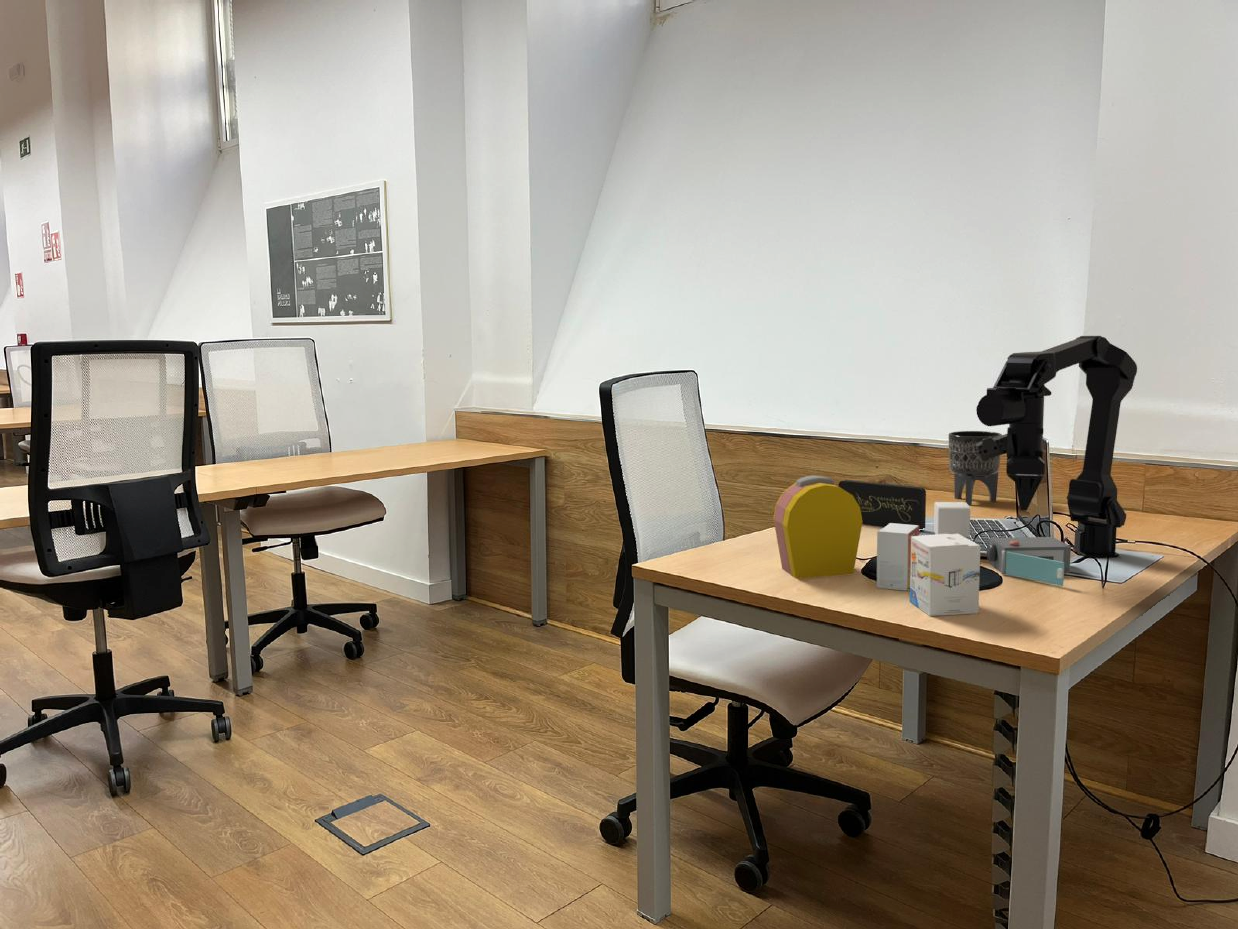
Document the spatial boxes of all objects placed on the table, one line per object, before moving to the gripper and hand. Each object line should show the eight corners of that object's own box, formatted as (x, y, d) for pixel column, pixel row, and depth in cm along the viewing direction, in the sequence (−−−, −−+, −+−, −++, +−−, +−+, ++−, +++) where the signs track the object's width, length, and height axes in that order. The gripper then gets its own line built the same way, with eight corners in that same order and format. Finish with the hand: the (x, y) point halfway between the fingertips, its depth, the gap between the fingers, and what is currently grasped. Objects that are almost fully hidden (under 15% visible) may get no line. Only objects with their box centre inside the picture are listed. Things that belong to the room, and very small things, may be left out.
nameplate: (925, 531, 209) (926, 487, 207) (921, 532, 208) (922, 489, 206) (842, 520, 223) (842, 479, 221) (838, 521, 222) (838, 480, 220)
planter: (994, 507, 231) (996, 437, 229) (941, 503, 238) (942, 435, 236) (1004, 499, 242) (1006, 432, 240) (953, 495, 249) (955, 430, 247)
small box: (907, 592, 162) (908, 533, 161) (875, 588, 165) (876, 530, 164) (919, 581, 169) (920, 524, 168) (888, 577, 172) (889, 522, 171)
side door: (999, 574, 171) (999, 551, 170) (1002, 573, 172) (1003, 550, 171) (1059, 587, 162) (1061, 562, 161) (1063, 585, 163) (1064, 561, 162)
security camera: (969, 556, 185) (970, 507, 184) (933, 555, 187) (934, 507, 185) (964, 549, 192) (965, 501, 190) (929, 548, 193) (930, 501, 191)
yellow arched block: (844, 563, 183) (845, 471, 180) (861, 573, 175) (863, 478, 172) (772, 568, 181) (772, 475, 178) (787, 579, 173) (786, 482, 170)
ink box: (908, 601, 157) (909, 534, 155) (956, 599, 158) (958, 532, 156) (929, 617, 149) (930, 546, 147) (979, 614, 149) (981, 543, 148)
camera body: (1051, 562, 179) (1053, 533, 179) (1069, 573, 171) (1071, 543, 170) (983, 563, 180) (984, 535, 179) (998, 574, 172) (999, 544, 171)
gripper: (980, 416, 181) (978, 494, 183) (977, 427, 164) (975, 513, 166) (1043, 416, 176) (1040, 496, 179) (1046, 428, 159) (1043, 516, 162)
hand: (1023, 505), depth 172 cm, fingers open, 9 cm apart
